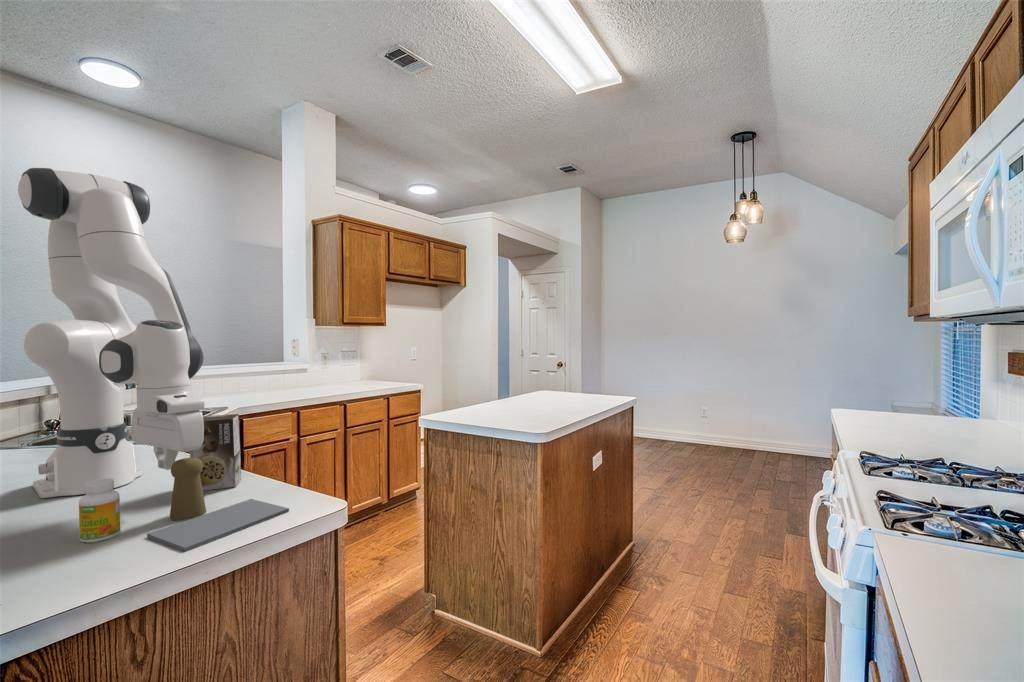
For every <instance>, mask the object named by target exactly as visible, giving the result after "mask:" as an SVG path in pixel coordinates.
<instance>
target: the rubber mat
mask: <svg viewBox="0 0 1024 682" xmlns="http://www.w3.org/2000/svg"><path fill="white" fill-rule="evenodd" d="M288 511H289V512H290V508H289V507H285V506H283V505H282V506H281V505H277V504H273V503H270V502H266V501H262V500H258V499H253V498H250V499H246V500H244V501H241V502H238V503H237V502H236V503H234V504H232V505H229V506H226V507H222V508H220V509H217V510H215V511H211V512H208V513H207V512H206V513H205V514H204V515H201V516H198V517H195V518H192V519H189V520H183V521H179V522H178V523H175V524H172V525H169V526H166V527H163V528H160V529H157V530H154V531H151V532H148V533H146V537H147V538H149V539H150V540H151V539H152V540H155V541H157V542H160V543H162V544H164V545H167V546H170V547H173V548H175V549H177V550H181V551H183V552H188V551H190V550H193V549H195V548H198V547H200V546H203V545H205V544H208V543H212V542H214V541H216V540H219V539H222V538H224V537H226V536H229V535H231V534H234V533H237V532H240V531H242V530H245V529H246V528H250V527H253V526H255V525H257V524H260V523H263V522H266V521H269V520H270V518H271V519H272V518H275V517H279V516H280V514H281V515H284V514H285V513H288Z"/></svg>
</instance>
